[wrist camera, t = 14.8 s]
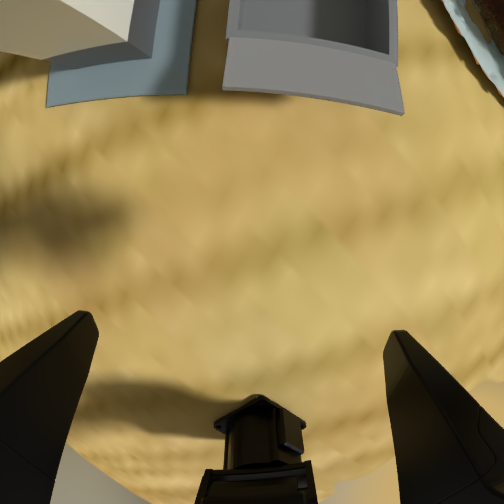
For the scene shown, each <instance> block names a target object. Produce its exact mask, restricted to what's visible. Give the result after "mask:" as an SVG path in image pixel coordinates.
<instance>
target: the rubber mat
mask: <svg viewBox="0 0 504 504" xmlns="http://www.w3.org/2000/svg"><path fill="white" fill-rule="evenodd" d="M196 7H197V0H160V5H159V11H158V17H157V23H156V30H155V38H154V45H153V53H152V58H151V59H140V60H131V61H122V62H115V63H108V64H101V65H95V66H90V67H84V68H79V69H74V68H71V67H67V66H63V65H59V64H55V63H51V65H50V73H49V82H48V93H47V106H46V107H54V106H60V105H66V104H72V103H79V102H86V101H93V100H102V99H111V98H122V97H135V96H151V95H187V86H188V75H189V65H190V55H191V46H192V37H193V29H194V21H195V14H196Z"/></svg>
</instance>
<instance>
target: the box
mask: <svg viewBox="0 0 504 504" xmlns="http://www.w3.org/2000/svg"><path fill="white" fill-rule="evenodd" d="M159 5H160V0H0V52H6V53H11V54H16V55H21V56H26V57H30V58H35V59H39V60H43V61H47V62H51V63H55V64H59V65H63V66H67V67H71V68H74V69H79V68H84V67H90V66H95V65H101V64H108V63H115V62H122V61H131V60H140V59H151V58H152V53H153V45H154V38H155V30H156V23H157V17H158V11H159Z"/></svg>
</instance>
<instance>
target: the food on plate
mask: <svg viewBox="0 0 504 504" xmlns="http://www.w3.org/2000/svg"><path fill="white" fill-rule="evenodd" d="M441 1H442V2H443V3H444V6H445V8H446V9H447V11H448V12H449V14H450V16H451V19H452V20H453V22H454V24H455V27H456V29H457V31H458V33H459V34H460V35H462V36H463V37H464V38H465V39H466V41H467V43H468V45H469V47H470V49H471V51H472V53H473V55H474V58H475V61H476V64H480V65H481V68H482V70H483V72H484V73H485V74H486V76H487V77H488V78H489V80H491V81H492V82H493V83H494V84H495V86H496V88H497V90H498V92H499V94H500V95H501V96H502V97H503V98H504V0H472V2H473V3H474V5H475V6H476V8H477V10H478V11H479V13H480V14H481V16H482V18H483V20H484V22H485V26H486V28H487V31H488V33H489V35H490V38H491V44H490V43H488V42H487V41H486V40H485V38H484V36H483V34H482V33H481V31H480V30H479V28H478V26H477V25H476V24H474V23H473V21H472V20H471V18H470V16H469V14H468V12H467V10H466V8H465V3H466V0H441Z"/></svg>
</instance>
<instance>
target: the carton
mask: <svg viewBox="0 0 504 504" xmlns="http://www.w3.org/2000/svg"><path fill="white" fill-rule="evenodd" d="M226 43H227V46H228V51H227V58H226V65H225V71H224V78H223V85H222V88H223V90H230V91H248V92H262V93H273V94H283V95H292V96H300V97H308V98H315V99H322V100H328V101H334V102H340V103H345V104H351V105H356V106H361V107H366V108H370V109H375V110H379V111H384V112H388V113H392V114H396V115H400V116H402V115H403V114H404V113H405V112H404V106H403V100H402V94H401V88H400V83H399V78H398V73H397V68H396V67H397V66H398V13H397V0H230V3H229V11H228V20H227V29H226Z"/></svg>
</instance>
